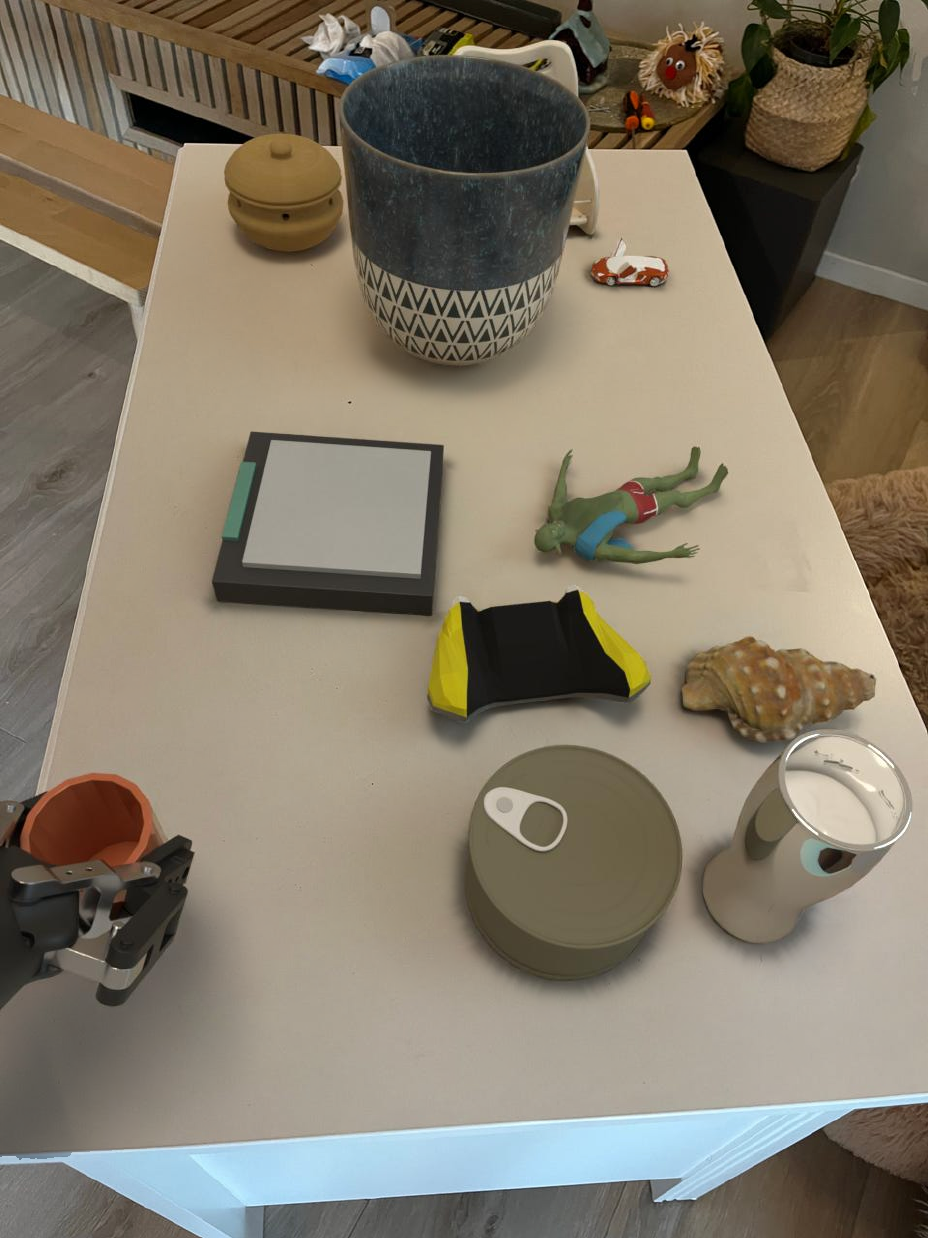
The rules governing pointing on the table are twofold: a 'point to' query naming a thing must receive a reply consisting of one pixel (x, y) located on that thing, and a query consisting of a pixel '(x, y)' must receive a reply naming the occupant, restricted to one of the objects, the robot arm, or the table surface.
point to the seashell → (772, 688)
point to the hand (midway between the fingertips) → (126, 829)
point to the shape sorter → (566, 74)
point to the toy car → (629, 268)
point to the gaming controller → (530, 656)
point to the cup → (92, 824)
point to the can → (569, 861)
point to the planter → (459, 199)
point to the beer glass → (806, 833)
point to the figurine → (618, 515)
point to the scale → (332, 525)
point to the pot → (284, 191)
